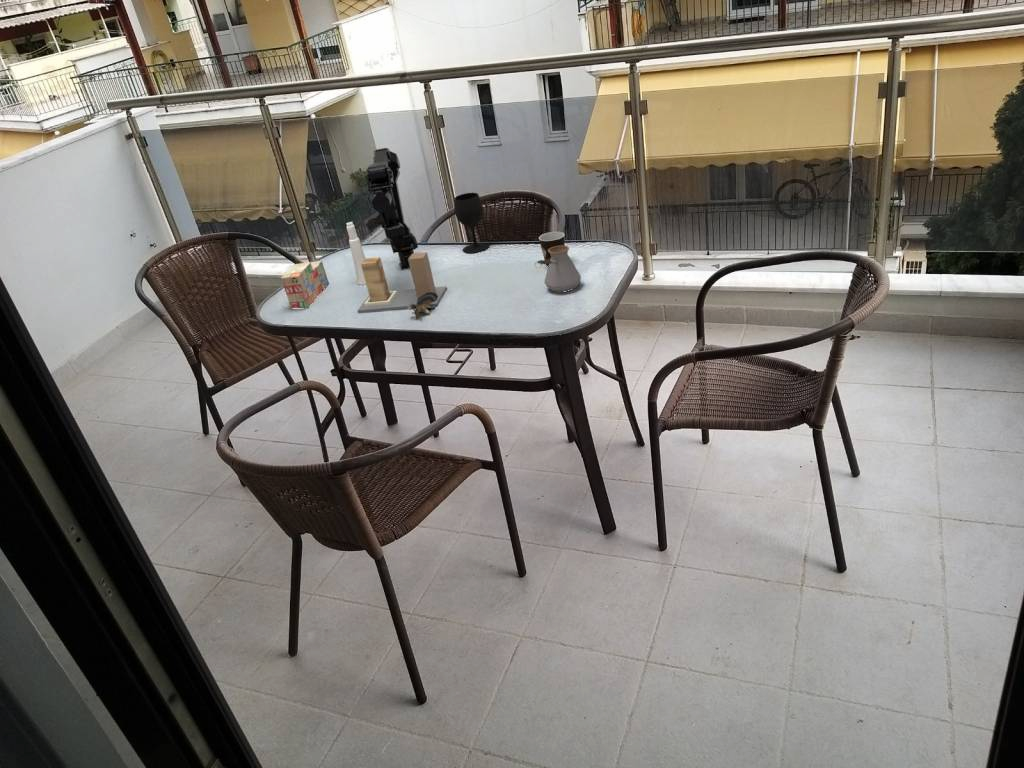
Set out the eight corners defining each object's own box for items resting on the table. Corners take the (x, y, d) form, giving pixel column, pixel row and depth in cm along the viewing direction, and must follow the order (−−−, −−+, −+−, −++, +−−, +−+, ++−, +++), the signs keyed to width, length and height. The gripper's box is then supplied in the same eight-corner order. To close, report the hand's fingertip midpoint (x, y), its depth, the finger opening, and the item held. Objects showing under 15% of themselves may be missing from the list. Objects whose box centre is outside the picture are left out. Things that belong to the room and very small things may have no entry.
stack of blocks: (313, 286, 279) (303, 254, 273) (329, 284, 278) (320, 252, 272) (291, 310, 261) (280, 277, 255) (308, 309, 260) (297, 275, 254)
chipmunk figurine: (430, 317, 234) (444, 300, 240) (413, 300, 232) (428, 283, 238) (417, 326, 239) (431, 309, 245) (401, 310, 238) (415, 294, 243)
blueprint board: (371, 295, 261) (360, 254, 254) (447, 288, 255) (437, 246, 248) (358, 313, 249) (346, 270, 242) (436, 306, 243) (426, 262, 236)
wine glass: (462, 246, 291) (451, 195, 281) (488, 241, 291) (479, 190, 281) (463, 255, 281) (452, 202, 272) (491, 250, 282) (481, 197, 272)
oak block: (376, 297, 256) (365, 258, 249) (390, 296, 255) (380, 256, 248) (371, 303, 252) (360, 264, 245) (385, 302, 251) (375, 262, 244)
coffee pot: (554, 279, 247) (547, 235, 240) (587, 280, 242) (581, 235, 235) (526, 308, 231) (519, 261, 224) (561, 309, 226) (555, 262, 219)
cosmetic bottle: (358, 286, 271) (341, 227, 260) (356, 281, 276) (339, 222, 265) (375, 282, 272) (359, 222, 261) (372, 277, 277) (356, 218, 266)
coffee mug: (568, 267, 255) (565, 238, 250) (543, 270, 255) (538, 242, 251) (567, 255, 265) (563, 227, 260) (542, 258, 266) (538, 231, 261)
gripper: (359, 202, 259) (370, 246, 266) (365, 216, 242) (377, 262, 250) (391, 195, 260) (401, 238, 268) (399, 208, 244) (410, 254, 252)
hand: (397, 248), depth 259 cm, fingers open, 9 cm apart
